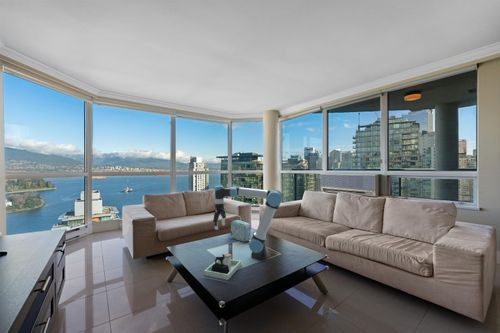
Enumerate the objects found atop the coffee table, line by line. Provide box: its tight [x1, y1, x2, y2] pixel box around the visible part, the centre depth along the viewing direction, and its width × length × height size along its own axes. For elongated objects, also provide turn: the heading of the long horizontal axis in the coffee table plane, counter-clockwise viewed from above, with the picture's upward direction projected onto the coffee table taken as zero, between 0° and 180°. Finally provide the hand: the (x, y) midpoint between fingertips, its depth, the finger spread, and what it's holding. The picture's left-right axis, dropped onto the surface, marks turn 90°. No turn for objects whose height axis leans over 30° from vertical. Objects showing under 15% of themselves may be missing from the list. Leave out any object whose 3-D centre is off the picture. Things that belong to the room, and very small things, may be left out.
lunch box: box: [230, 219, 252, 243], centre depth 238 cm, size 27×10×21 cm, turn 45°
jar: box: [224, 253, 233, 268], centre depth 173 cm, size 6×6×9 cm
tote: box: [203, 258, 242, 282], centre depth 166 cm, size 20×24×4 cm
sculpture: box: [211, 253, 229, 274], centre depth 161 cm, size 8×13×15 cm, turn 62°
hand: (220, 227), depth 186 cm, fingers open, 13 cm apart
